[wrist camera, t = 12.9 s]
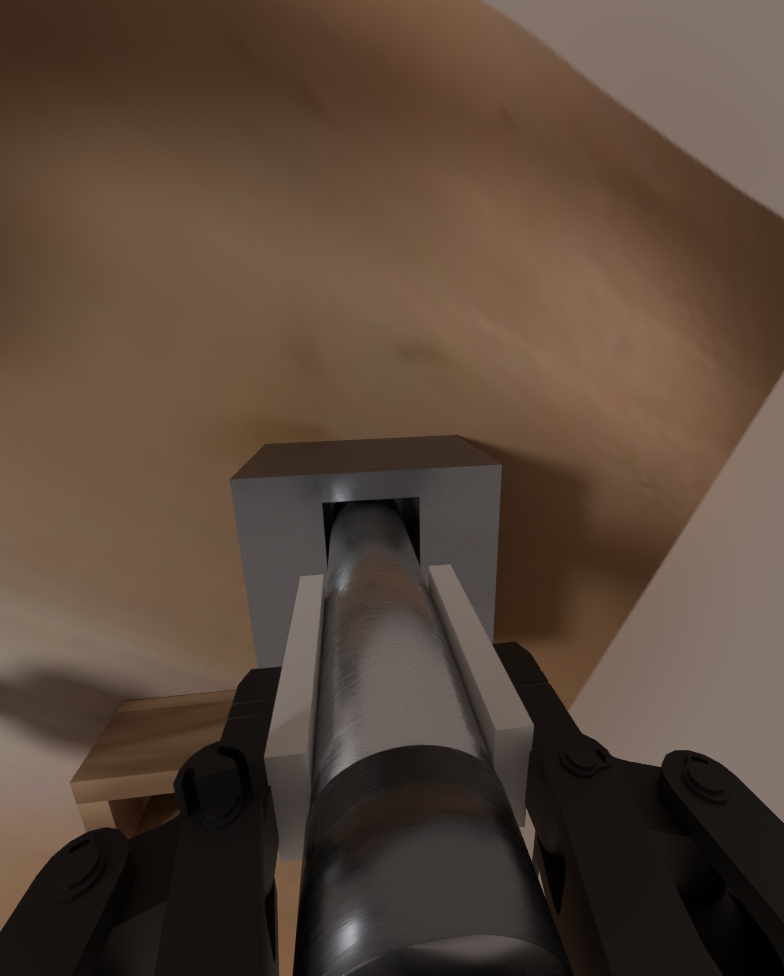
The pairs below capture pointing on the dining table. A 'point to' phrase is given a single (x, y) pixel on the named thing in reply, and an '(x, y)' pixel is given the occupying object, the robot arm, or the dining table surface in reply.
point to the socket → (351, 477)
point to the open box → (145, 760)
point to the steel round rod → (406, 789)
